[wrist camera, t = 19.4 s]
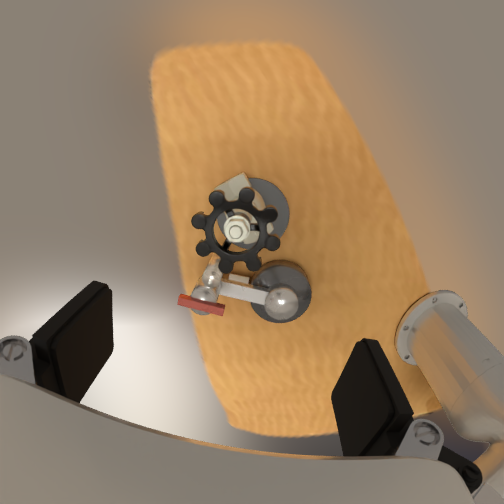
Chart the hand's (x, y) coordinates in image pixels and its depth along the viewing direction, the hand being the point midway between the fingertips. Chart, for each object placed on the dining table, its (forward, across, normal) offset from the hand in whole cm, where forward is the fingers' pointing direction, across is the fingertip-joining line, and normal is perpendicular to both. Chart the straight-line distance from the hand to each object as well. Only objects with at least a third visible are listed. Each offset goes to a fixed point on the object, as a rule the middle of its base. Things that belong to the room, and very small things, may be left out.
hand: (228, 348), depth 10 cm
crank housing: (+24, -2, +8) cm, 26 cm away
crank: (+22, -1, +8) cm, 23 cm away
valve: (+24, +1, -1) cm, 24 cm away
